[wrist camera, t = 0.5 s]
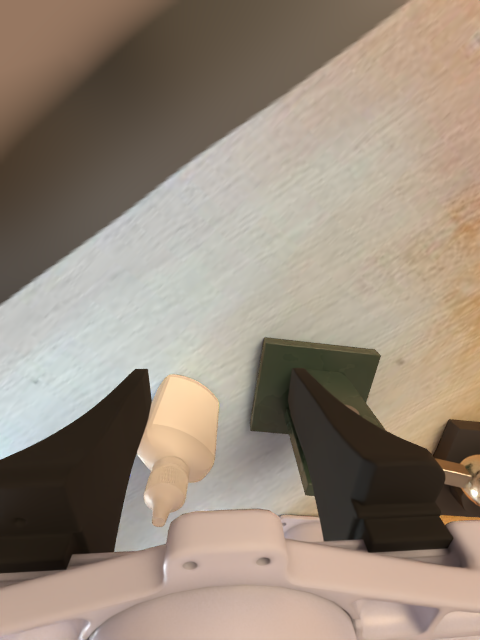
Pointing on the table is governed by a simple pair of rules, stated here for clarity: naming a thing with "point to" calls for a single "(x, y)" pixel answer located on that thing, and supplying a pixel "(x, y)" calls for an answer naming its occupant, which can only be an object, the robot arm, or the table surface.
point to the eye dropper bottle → (177, 443)
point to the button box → (455, 448)
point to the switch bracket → (327, 368)
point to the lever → (464, 476)
